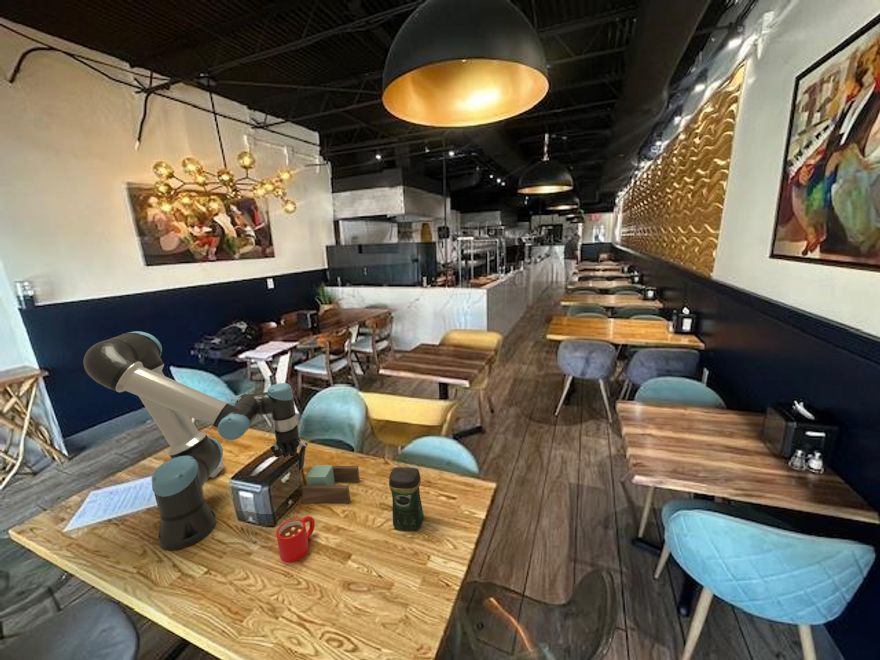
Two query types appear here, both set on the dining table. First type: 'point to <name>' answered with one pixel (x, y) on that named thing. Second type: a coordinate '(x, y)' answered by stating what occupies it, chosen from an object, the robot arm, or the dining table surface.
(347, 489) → the dark wooden parallel walls
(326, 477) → the block
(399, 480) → the coffee jar
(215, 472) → the die
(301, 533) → the mug
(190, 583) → the dining table surface
